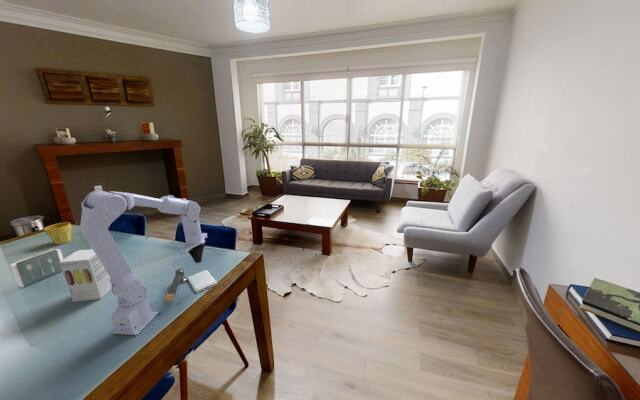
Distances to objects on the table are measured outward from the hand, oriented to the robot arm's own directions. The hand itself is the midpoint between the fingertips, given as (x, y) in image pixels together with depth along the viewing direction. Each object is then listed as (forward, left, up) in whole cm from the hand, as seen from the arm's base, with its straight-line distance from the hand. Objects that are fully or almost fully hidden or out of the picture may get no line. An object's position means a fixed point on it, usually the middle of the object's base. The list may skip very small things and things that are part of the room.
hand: (198, 261), depth 99 cm
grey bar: (-7, +6, -7) cm, 11 cm away
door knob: (0, +9, -9) cm, 13 cm away
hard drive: (0, 0, -10) cm, 10 cm away
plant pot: (+29, +100, -10) cm, 105 cm away
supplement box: (-10, +38, -10) cm, 40 cm away
